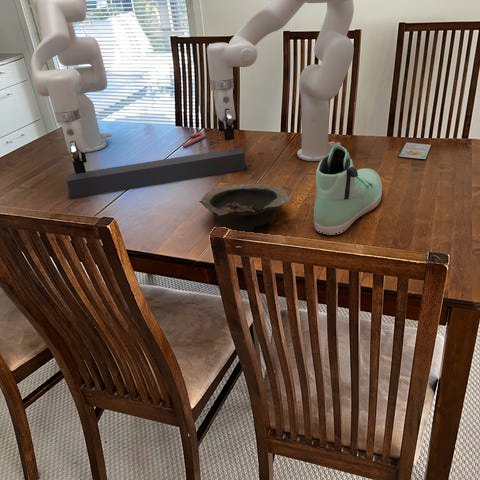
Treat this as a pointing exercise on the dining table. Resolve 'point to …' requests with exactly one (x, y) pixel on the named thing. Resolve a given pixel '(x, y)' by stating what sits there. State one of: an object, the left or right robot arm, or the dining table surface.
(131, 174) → the beam
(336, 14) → the right robot arm
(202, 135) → the red elongated piece
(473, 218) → the dining table surface
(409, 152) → the baking ingredient package
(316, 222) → the sneaker
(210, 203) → the stone bowl
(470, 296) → the dining table surface
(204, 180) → the dining table surface
